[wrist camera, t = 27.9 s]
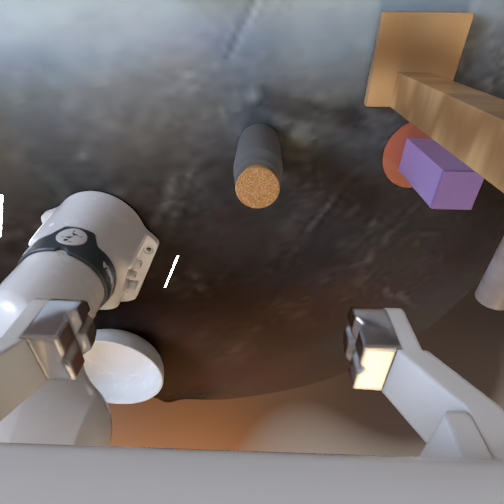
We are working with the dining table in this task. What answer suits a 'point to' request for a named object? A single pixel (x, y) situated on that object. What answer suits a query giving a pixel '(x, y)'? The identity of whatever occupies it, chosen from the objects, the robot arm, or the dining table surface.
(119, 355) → the serving bowl
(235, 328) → the dining table surface
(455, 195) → the purple block
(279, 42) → the dining table surface
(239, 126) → the dining table surface
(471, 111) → the cup stand
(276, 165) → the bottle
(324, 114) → the dining table surface
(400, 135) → the coaster
